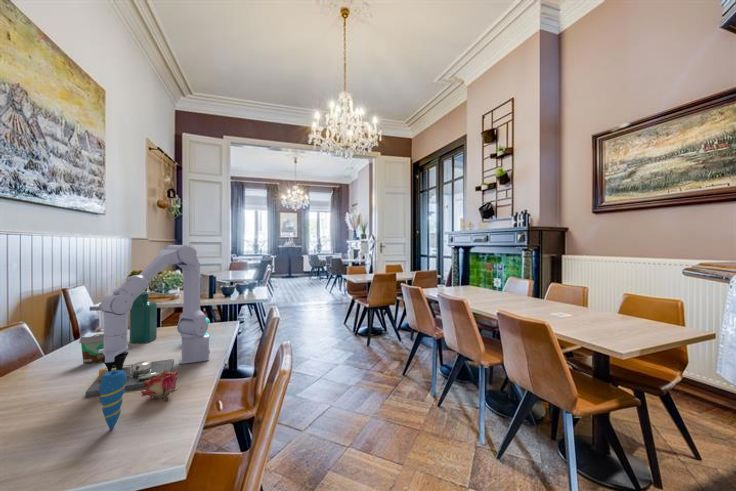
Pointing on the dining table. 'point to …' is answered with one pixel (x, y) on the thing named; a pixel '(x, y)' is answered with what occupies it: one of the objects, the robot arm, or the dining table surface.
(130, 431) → the dining table surface
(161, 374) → the flower
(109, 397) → the ornament
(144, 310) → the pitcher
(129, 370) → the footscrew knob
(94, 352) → the food container
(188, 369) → the dining table surface
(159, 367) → the grey flat square slab
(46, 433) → the dining table surface
